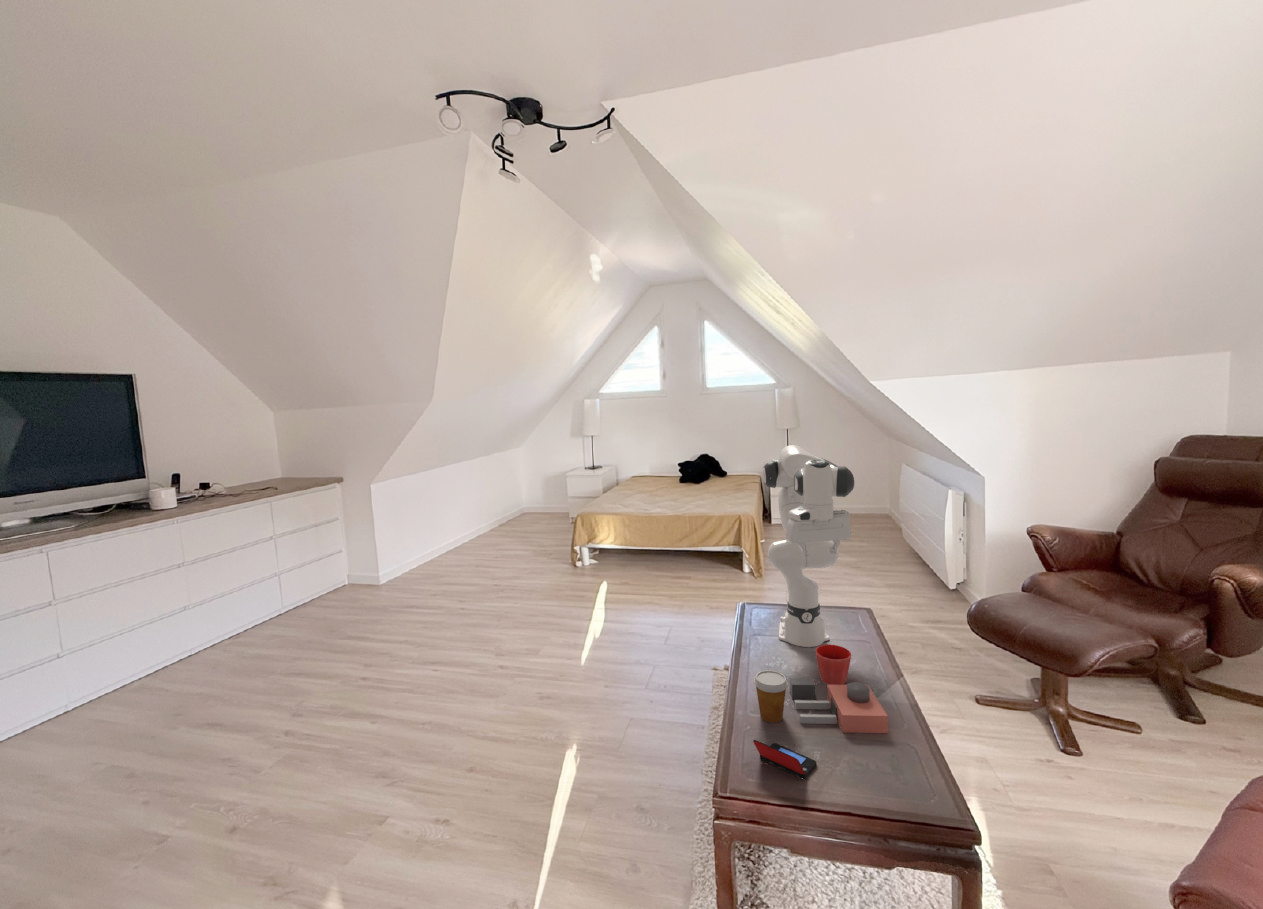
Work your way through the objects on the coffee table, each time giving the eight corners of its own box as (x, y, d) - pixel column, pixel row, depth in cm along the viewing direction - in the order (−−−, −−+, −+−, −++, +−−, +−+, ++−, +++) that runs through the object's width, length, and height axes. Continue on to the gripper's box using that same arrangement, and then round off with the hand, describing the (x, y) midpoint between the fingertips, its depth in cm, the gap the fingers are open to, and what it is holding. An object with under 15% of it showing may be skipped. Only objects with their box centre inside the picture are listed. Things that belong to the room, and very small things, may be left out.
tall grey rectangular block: (789, 692, 169) (789, 677, 168) (812, 693, 168) (812, 678, 167) (792, 699, 165) (791, 684, 164) (815, 700, 164) (815, 684, 163)
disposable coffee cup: (789, 709, 159) (788, 671, 158) (787, 728, 150) (786, 688, 149) (756, 705, 162) (755, 667, 161) (753, 723, 154) (752, 683, 152)
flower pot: (854, 689, 169) (854, 660, 168) (818, 687, 171) (817, 658, 170) (848, 672, 179) (847, 644, 178) (813, 670, 181) (813, 643, 180)
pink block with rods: (792, 699, 165) (791, 674, 164) (868, 700, 162) (868, 675, 162) (803, 731, 149) (803, 704, 148) (887, 733, 146) (887, 705, 146)
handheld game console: (818, 765, 135) (818, 737, 135) (798, 789, 128) (798, 759, 127) (773, 745, 144) (773, 719, 143) (752, 766, 136) (751, 738, 136)
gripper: (844, 507, 172) (845, 549, 173) (783, 511, 170) (784, 554, 171) (855, 511, 166) (855, 555, 167) (791, 515, 163) (792, 559, 165)
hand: (818, 554), depth 169 cm, fingers open, 8 cm apart
